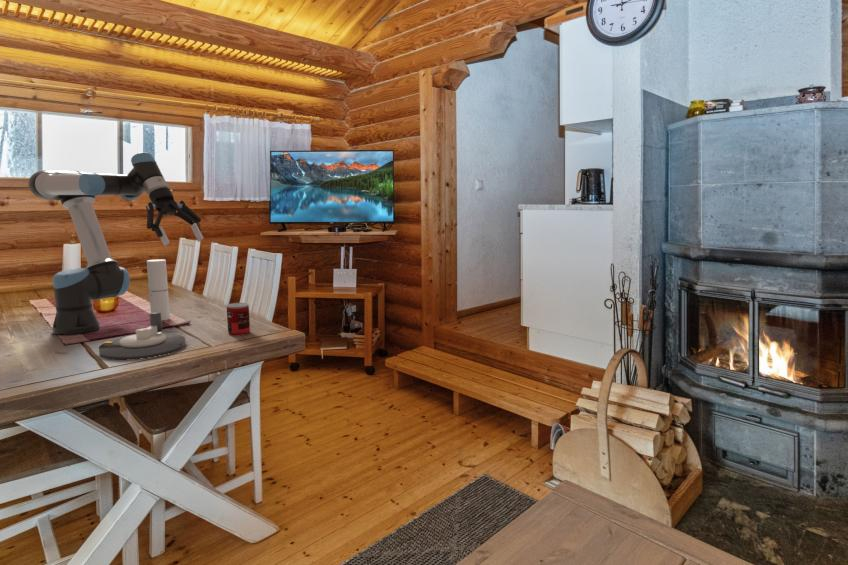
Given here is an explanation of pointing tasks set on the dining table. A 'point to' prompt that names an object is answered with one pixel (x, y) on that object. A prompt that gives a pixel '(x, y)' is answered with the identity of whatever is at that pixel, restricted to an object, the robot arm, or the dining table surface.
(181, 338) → the dial plate
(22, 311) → the dining table surface
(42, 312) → the dining table surface
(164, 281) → the cylindrical container
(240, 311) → the canned food
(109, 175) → the robot arm
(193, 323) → the dining table surface
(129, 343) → the dial
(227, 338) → the dining table surface
